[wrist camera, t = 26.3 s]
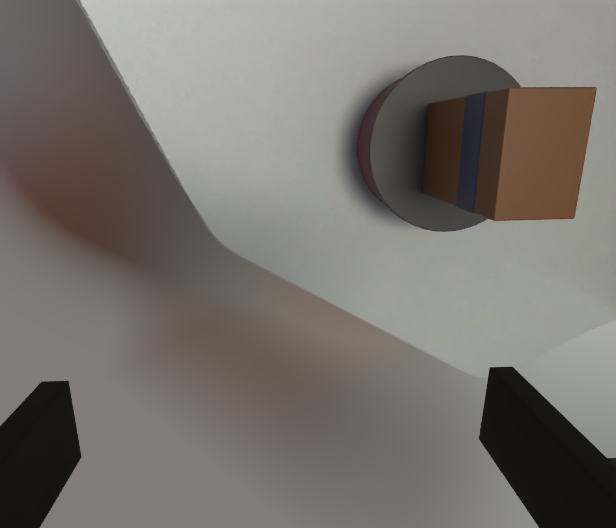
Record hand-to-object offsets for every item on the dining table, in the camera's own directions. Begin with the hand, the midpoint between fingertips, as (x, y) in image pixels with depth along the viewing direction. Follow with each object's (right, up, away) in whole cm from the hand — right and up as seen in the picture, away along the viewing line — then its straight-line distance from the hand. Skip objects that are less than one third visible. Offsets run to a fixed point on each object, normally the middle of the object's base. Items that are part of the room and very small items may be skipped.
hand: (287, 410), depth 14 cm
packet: (+11, +13, +18) cm, 25 cm away
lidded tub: (+11, +15, +24) cm, 31 cm away
